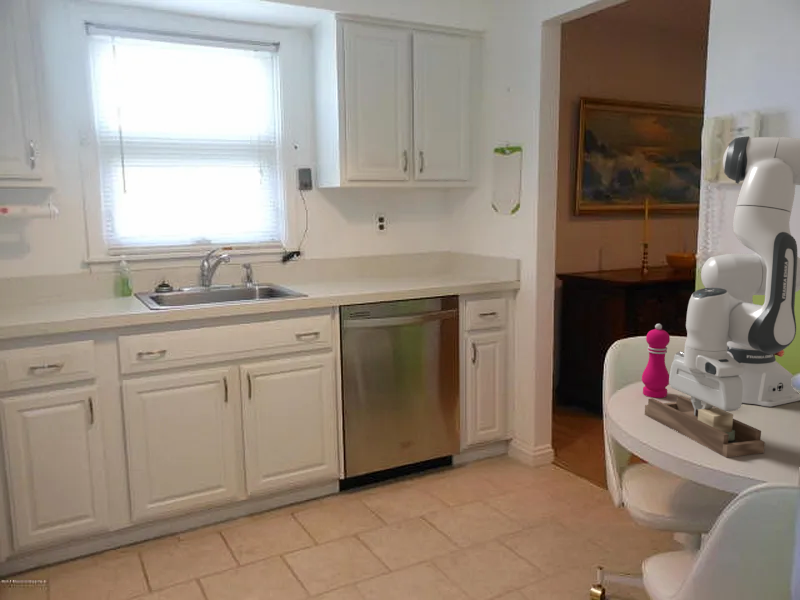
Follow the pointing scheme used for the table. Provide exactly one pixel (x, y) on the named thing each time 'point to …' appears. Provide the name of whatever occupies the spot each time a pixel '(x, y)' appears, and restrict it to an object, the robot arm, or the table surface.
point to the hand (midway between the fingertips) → (700, 417)
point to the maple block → (716, 418)
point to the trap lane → (706, 428)
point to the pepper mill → (656, 364)
